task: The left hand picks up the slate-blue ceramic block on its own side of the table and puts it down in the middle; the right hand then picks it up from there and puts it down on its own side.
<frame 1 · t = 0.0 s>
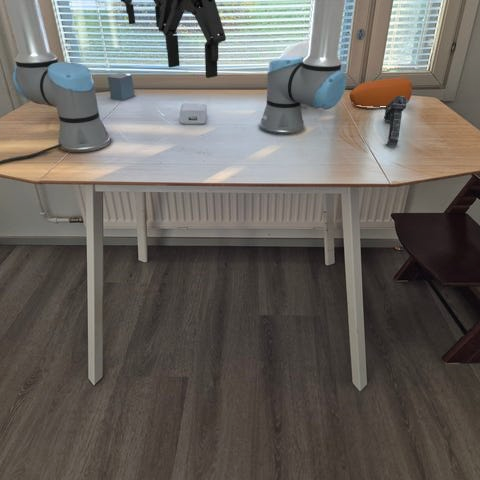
left hand: (145, 25, 154), 28 cm above the table, tool pointing down, fingers open, 13 cm apart
right hand: (192, 71, 92), 28 cm above the table, tool pointing down, fingers open, 13 cm apart
clog: (377, 106, 167), on the table
charger: (194, 117, 152), on the table
futuristic handgun: (389, 134, 140), on the table
decorative sphere: (301, 105, 167), on the table
block: (123, 97, 173), on the table
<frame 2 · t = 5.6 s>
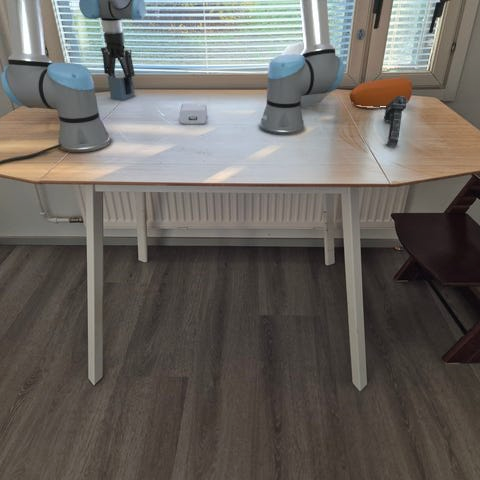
left hand: (122, 92, 172), 2 cm above the table, tool pointing down, fingers closed on block, 6 cm apart
right hand: (402, 30, 105), 34 cm above the table, tool pointing down, fingers open, 13 cm apart
block: (123, 97, 173), on the table, touching left hand
everything else where it was.
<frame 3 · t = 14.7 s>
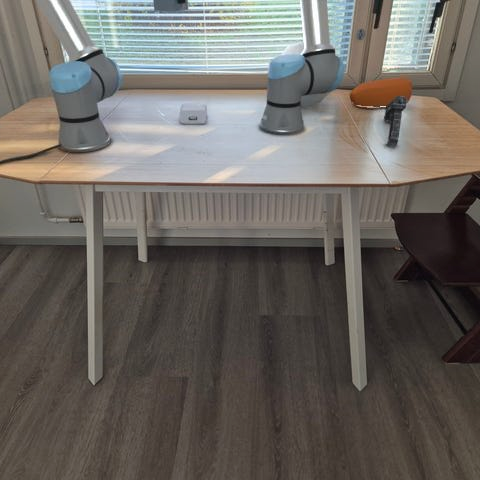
left hand: (170, 2, 113), 39 cm above the table, tool pointing down, fingers closed on block, 6 cm apart
right hand: (402, 30, 105), 34 cm above the table, tool pointing down, fingers open, 13 cm apart
block: (171, 10, 114), point 37 cm above the table, touching left hand
everything else where it was.
when the left hand's fingers open (4 cm above the table, at t = 24.1 s): block drops 2 cm, on the table.
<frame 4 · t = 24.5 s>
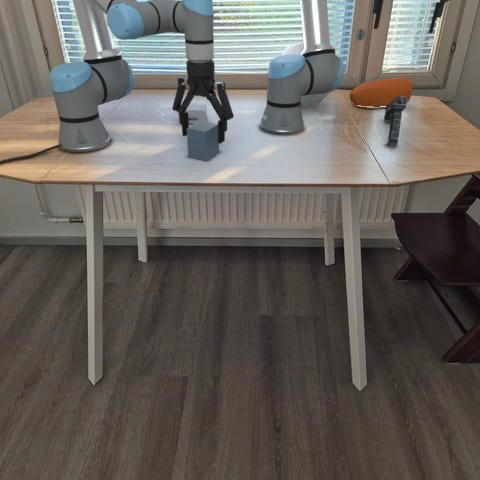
left hand: (203, 138, 121), 5 cm above the table, tool pointing down, fingers open, 11 cm apart
right hand: (402, 30, 105), 34 cm above the table, tool pointing down, fingers open, 13 cm apart
block: (203, 154, 124), on the table
everything else where it was.
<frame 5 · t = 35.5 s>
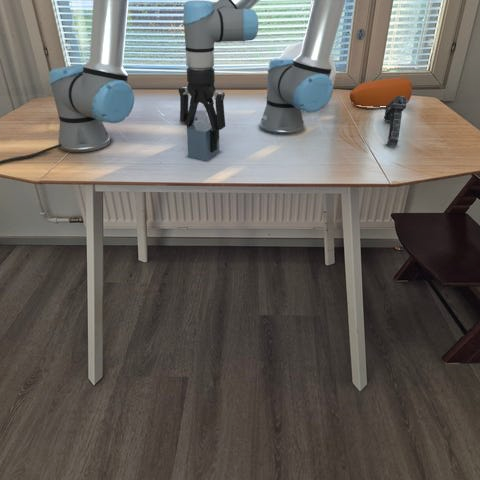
right hand: (203, 148, 122), 2 cm above the table, tool pointing down, fingers closed on block, 6 cm apart
block: (203, 154, 124), on the table, touching right hand
everything else where it was.
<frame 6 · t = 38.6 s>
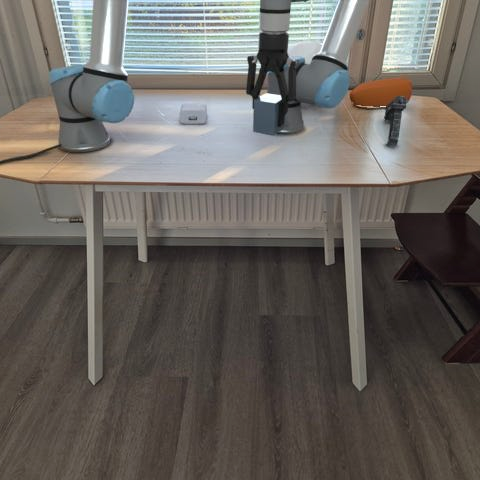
right hand: (269, 122, 114), 11 cm above the table, tool pointing down, fingers closed on block, 6 cm apart
block: (268, 129, 115), point 9 cm above the table, touching right hand
everything else where it was.
when the right hand's fingers open (4 cm above the table, at t = 42.2 s): block drops 2 cm, on the table.
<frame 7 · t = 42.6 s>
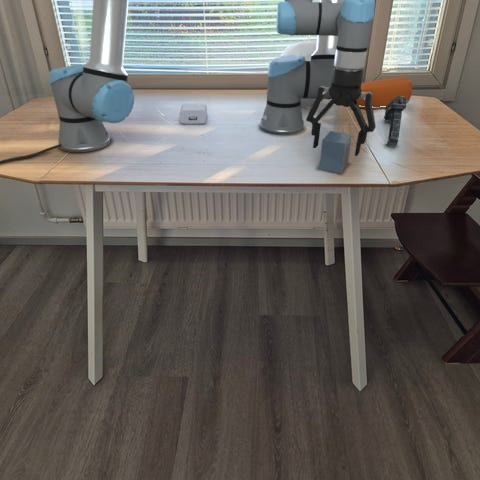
right hand: (335, 150, 115), 5 cm above the table, tool pointing down, fingers open, 11 cm apart
block: (333, 166, 118), on the table
everything else where it was.
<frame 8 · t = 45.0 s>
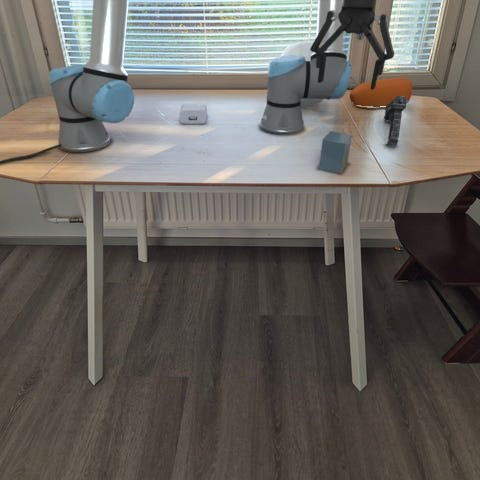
right hand: (346, 85, 105), 23 cm above the table, tool pointing down, fingers open, 13 cm apart
nothing on the table moved.
at the end: block inside the target area (0.2 cm from its centre), on the table; block tilted 0°; the two hands never held the block at the same time; the left hand is holding nothing; the right hand is holding nothing; block at rest at the end (0.0 cm/s) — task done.
